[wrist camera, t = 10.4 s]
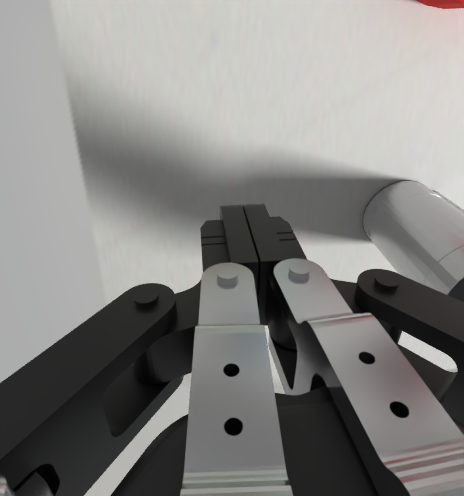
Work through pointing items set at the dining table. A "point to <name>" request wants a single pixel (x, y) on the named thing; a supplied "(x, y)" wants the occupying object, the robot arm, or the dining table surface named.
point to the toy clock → (444, 3)
